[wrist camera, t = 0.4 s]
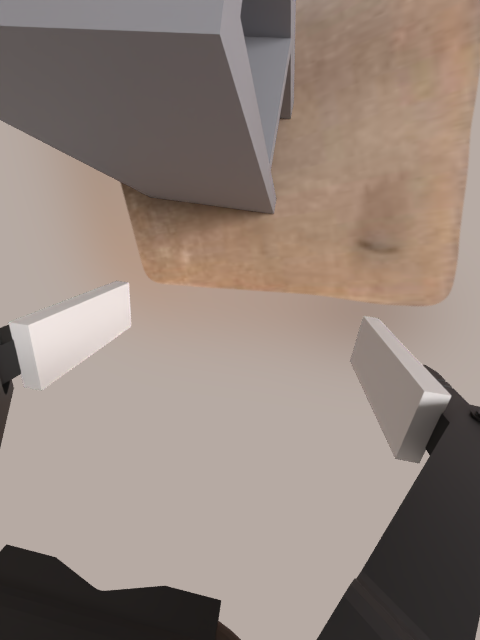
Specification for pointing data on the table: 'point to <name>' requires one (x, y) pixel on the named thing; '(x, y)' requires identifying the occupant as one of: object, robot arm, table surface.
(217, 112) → the shelf
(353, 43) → the table surface
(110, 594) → the robot arm
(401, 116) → the table surface
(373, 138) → the table surface
